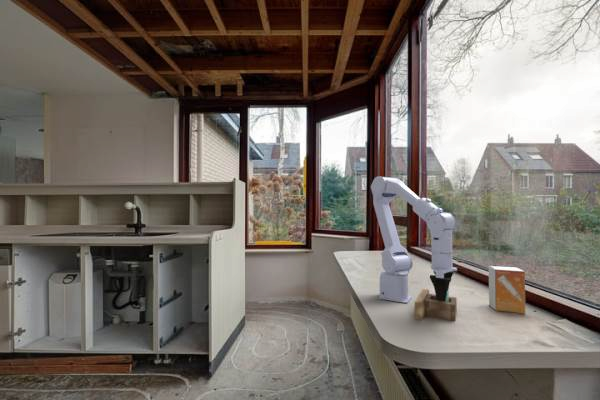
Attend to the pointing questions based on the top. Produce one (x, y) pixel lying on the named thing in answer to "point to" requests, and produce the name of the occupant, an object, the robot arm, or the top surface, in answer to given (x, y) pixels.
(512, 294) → the small box
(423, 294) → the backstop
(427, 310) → the block
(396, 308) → the top surface
